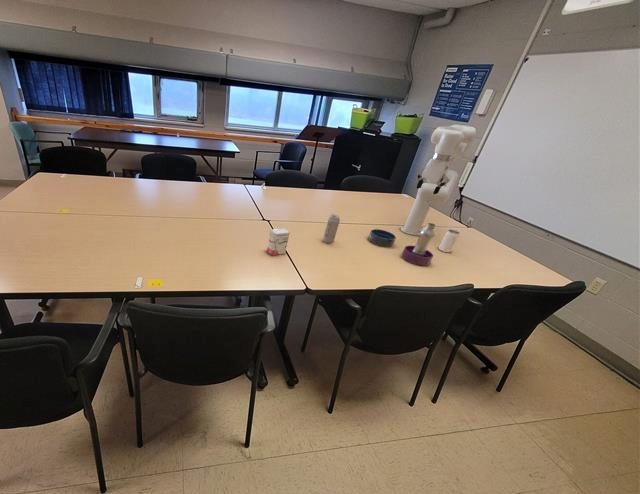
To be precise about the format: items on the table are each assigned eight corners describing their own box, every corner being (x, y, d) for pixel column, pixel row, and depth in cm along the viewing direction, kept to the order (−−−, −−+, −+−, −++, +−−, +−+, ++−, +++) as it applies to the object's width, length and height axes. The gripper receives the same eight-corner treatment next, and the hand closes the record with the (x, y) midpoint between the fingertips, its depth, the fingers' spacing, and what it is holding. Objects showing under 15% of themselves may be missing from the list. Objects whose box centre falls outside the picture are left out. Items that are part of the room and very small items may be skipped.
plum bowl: (411, 251, 180) (414, 244, 177) (434, 263, 170) (438, 255, 167) (396, 255, 173) (399, 247, 170) (419, 268, 163) (423, 259, 160)
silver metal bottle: (423, 262, 168) (440, 227, 157) (410, 260, 169) (426, 225, 158) (420, 257, 173) (436, 223, 163) (407, 255, 174) (423, 220, 163)
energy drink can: (333, 244, 176) (341, 219, 167) (322, 242, 176) (329, 217, 168) (332, 240, 181) (340, 215, 173) (322, 238, 181) (329, 213, 173)
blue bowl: (378, 235, 195) (380, 228, 193) (397, 245, 186) (401, 237, 183) (363, 238, 188) (365, 230, 186) (382, 248, 179) (385, 240, 176)
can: (448, 249, 190) (458, 230, 183) (451, 253, 184) (461, 234, 178) (437, 246, 191) (446, 228, 185) (439, 250, 186) (449, 232, 179)
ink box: (271, 255, 155) (275, 233, 149) (266, 251, 159) (270, 229, 152) (285, 253, 159) (290, 232, 153) (280, 249, 163) (284, 228, 156)
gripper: (461, 161, 156) (445, 195, 166) (429, 153, 168) (416, 186, 177) (454, 162, 153) (438, 196, 162) (421, 153, 165) (408, 186, 174)
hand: (426, 191), depth 170 cm, fingers open, 9 cm apart
